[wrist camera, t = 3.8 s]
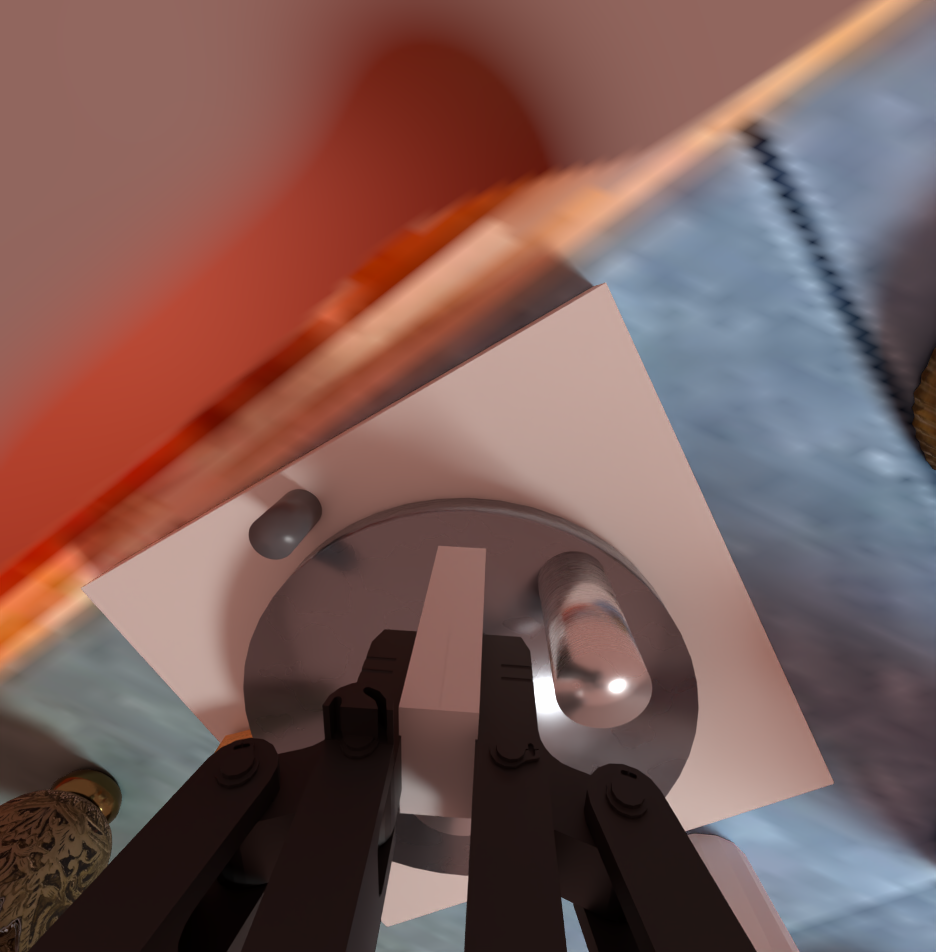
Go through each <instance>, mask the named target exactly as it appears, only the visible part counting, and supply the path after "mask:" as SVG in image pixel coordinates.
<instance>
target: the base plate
mask: <svg viewBox="0 0 936 952" xmlns="http://www.w3.org/2000/svg"><path fill="white" fill-rule="evenodd" d="M448 498H478V499H490V500H501V501H505V502H510V503H515V504H520V505H525V506H529V507H533V508H536V509H539V510H542V511H545V512H548V513H551V514H554V515H557V516H559V517H562V518H564V519H566V520H568V521H570V522H572V523H574V524H576V525H578V526H580V527H582V528H584V529H587V530H589V531H590V532H592V533H593V534H595V535H596V536H598V537H599V538H601V539H602V540H604V541H605V542H607V543H608V544H610V545H611V546H613V547H614V548H615V549H616V550H618V551H619V552H620V553H621V554H622V555H623V556H624V557H625V558H627V559H628V560H629V561H630V562H631V563H632V564H633V565H635V566H636V568H637V569H638V570H639V571H640V572H641V573H642V575H643V576H644V577H645V578H646V579H647V580H648V582H649V583H650V584H651V585H652V586H653V588H654V589H655V591H656V592H657V594H658V596H659V597H660V599H661V601H662V602H663V604H664V605H665V607H666V609H667V610H668V612H669V614H670V615H671V617H672V619H673V621H674V622H675V624H676V626H677V628H678V629H679V631H680V633H681V635H682V637H683V640H684V642H685V644H686V647H687V649H688V652H689V654H690V656H691V659H692V663H693V667H694V672H695V676H696V680H697V688H698V705H699V710H698V719H697V728H696V734H695V738H694V741H693V745H692V748H691V752H690V755H689V757H688V760H687V762H686V764H685V766H684V768H683V770H682V772H681V774H680V777H679V778H678V780H677V781H676V783H675V784H674V786H673V787H672V789H671V790H670V792H669V793H668V795H667V796H666V797H665V798H666V800H667V802H668V803H669V805H670V807H671V808H672V810H673V812H674V813H675V815H676V817H677V818H678V820H679V822H680V823H681V825H682V827H683V828H684V830H685V831H688V830H691V829H694V828H697V827H700V826H703V825H707V824H710V823H713V822H716V821H719V820H722V819H725V818H728V817H731V816H735V815H738V814H741V813H744V812H747V811H750V810H753V809H756V808H760V807H763V806H766V805H769V804H772V803H775V802H778V801H781V800H785V799H788V798H791V797H794V796H797V795H800V794H803V793H806V792H809V791H813V790H816V789H819V788H822V787H825V786H828V785H831V784H834V782H833V779H832V777H831V775H830V773H829V771H828V768H827V766H826V764H825V762H824V760H823V757H822V755H821V753H820V751H819V749H818V746H817V744H816V742H815V740H814V738H813V735H812V733H811V731H810V729H809V727H808V724H807V722H806V720H805V718H804V716H803V714H802V711H801V709H800V707H799V705H798V703H797V700H796V698H795V696H794V694H793V692H792V689H791V687H790V685H789V683H788V681H787V678H786V676H785V674H784V672H783V670H782V667H781V665H780V663H779V661H778V659H777V657H776V654H775V652H774V650H773V648H772V646H771V643H770V641H769V639H768V637H767V635H766V632H765V630H764V628H763V626H762V624H761V621H760V619H759V617H758V615H757V613H756V610H755V608H754V606H753V604H752V602H751V600H750V597H749V595H748V593H747V591H746V589H745V586H744V584H743V582H742V580H741V578H740V575H739V573H738V571H737V569H736V567H735V564H734V562H733V560H732V558H731V556H730V553H729V551H728V549H727V547H726V545H725V543H724V540H723V538H722V536H721V534H720V532H719V529H718V527H717V525H716V523H715V521H714V518H713V516H712V514H711V512H710V510H709V507H708V505H707V503H706V501H705V499H704V496H703V494H702V492H701V490H700V488H699V486H698V483H697V481H696V479H695V477H694V475H693V472H692V470H691V468H690V466H689V464H688V461H687V459H686V457H685V455H684V453H683V450H682V448H681V446H680V444H679V442H678V439H677V437H676V435H675V433H674V431H673V429H672V426H671V424H670V422H669V420H668V418H667V415H666V413H665V411H664V409H663V407H662V404H661V402H660V400H659V398H658V396H657V393H656V391H655V389H654V387H653V385H652V382H651V380H650V378H649V376H648V374H647V372H646V369H645V367H644V365H643V363H642V361H641V358H640V356H639V354H638V352H637V350H636V347H635V345H634V343H633V341H632V339H631V336H630V334H629V332H628V330H627V328H626V325H625V323H624V321H623V319H622V317H621V315H620V312H619V310H618V308H617V306H616V304H615V301H614V299H613V297H612V295H611V293H610V290H609V288H608V286H607V284H606V283H603V284H600V285H596V286H593V287H591V288H590V289H588V290H586V291H585V292H583V293H581V294H579V295H578V296H576V297H574V298H573V299H571V300H569V301H567V302H566V303H564V304H562V305H561V306H559V307H557V308H555V309H554V310H552V311H550V312H549V313H547V314H545V315H543V316H542V317H540V318H538V319H537V320H535V321H533V322H531V323H530V324H528V325H526V326H525V327H523V328H521V329H519V330H518V331H516V332H514V333H513V334H511V335H509V336H507V337H506V338H504V339H502V340H501V341H499V342H497V343H495V344H494V345H492V346H490V347H489V348H487V349H485V350H483V351H482V352H480V353H478V354H477V355H475V356H473V357H471V358H470V359H468V360H466V361H465V362H463V363H461V364H459V365H458V366H456V367H454V368H453V369H451V370H449V371H447V372H446V373H444V374H442V375H441V376H439V377H437V378H435V379H434V380H432V381H430V382H429V383H427V384H425V385H423V386H422V387H420V388H418V389H417V390H415V391H413V392H411V393H410V394H408V395H406V396H405V397H403V398H401V399H399V400H398V401H396V402H394V403H393V404H391V405H389V406H387V407H386V408H384V409H382V410H381V411H379V412H377V413H375V414H374V415H372V416H370V417H369V418H367V419H365V420H363V421H362V422H360V423H358V424H357V425H355V426H353V427H351V428H350V429H348V430H346V431H345V432H343V433H341V434H339V435H338V436H336V437H334V438H333V439H331V440H329V441H327V442H326V443H324V444H322V445H321V446H319V447H317V448H315V449H314V450H312V451H310V452H308V453H307V454H305V455H303V456H302V457H300V458H298V459H296V460H295V461H293V462H291V463H290V464H288V465H286V466H284V467H283V468H281V469H279V470H278V471H276V472H274V473H272V474H271V475H269V476H267V477H266V478H264V479H262V480H260V481H259V482H257V483H255V484H254V485H252V486H250V487H248V488H247V489H245V490H243V491H242V492H240V493H238V494H236V495H235V496H233V497H231V498H230V499H228V500H226V501H224V502H223V503H221V504H219V505H218V506H216V507H214V508H212V509H211V510H209V511H207V512H206V513H204V514H202V515H200V516H199V517H197V518H195V519H194V520H192V521H190V522H188V523H187V524H185V525H183V526H182V527H180V528H178V529H176V530H175V531H173V532H171V533H170V534H168V535H166V536H164V537H163V538H161V539H159V540H158V541H156V542H154V543H152V544H151V545H149V546H147V547H146V548H144V549H142V550H140V551H139V552H137V553H135V554H134V555H132V556H130V557H128V558H127V559H125V560H123V561H122V562H120V563H118V564H116V565H115V566H113V567H112V568H110V569H109V570H107V571H106V572H104V573H103V574H101V575H100V576H98V577H97V578H95V579H94V580H92V581H91V582H89V583H88V584H86V585H85V586H83V587H82V588H81V589H82V590H83V592H84V593H85V594H86V595H87V596H88V597H89V598H90V599H91V600H92V602H93V603H94V604H95V605H96V606H97V607H98V608H99V609H100V610H101V611H102V613H103V614H104V615H105V616H106V617H107V618H108V619H109V620H110V621H111V623H112V624H113V625H114V626H115V627H116V628H117V629H118V630H119V631H120V632H121V634H122V635H123V636H124V637H125V638H126V639H127V640H128V641H129V642H130V644H131V645H132V646H133V647H134V648H135V649H136V650H137V651H138V652H139V653H140V655H141V656H142V657H143V658H144V659H145V660H146V661H147V662H148V663H149V665H150V666H151V667H152V668H153V669H154V670H155V671H156V672H157V673H158V674H159V676H160V677H161V678H162V679H163V680H164V681H165V682H166V683H167V684H168V686H169V687H170V688H171V689H172V690H173V691H174V692H175V693H176V694H177V695H178V697H179V698H180V699H181V700H182V701H183V702H184V703H185V704H186V705H187V707H188V708H189V709H190V710H191V711H192V712H193V713H194V714H195V715H196V716H197V718H198V719H199V720H200V721H201V722H202V723H203V724H204V725H205V726H206V728H207V729H208V730H209V731H210V732H211V733H212V734H213V735H214V736H215V738H216V739H217V740H218V741H219V742H220V743H221V742H222V740H223V739H224V737H225V736H226V735H230V734H234V733H238V732H242V731H246V730H250V727H249V723H248V719H247V716H246V712H245V702H244V692H243V683H244V666H245V661H246V657H247V652H248V648H249V644H250V640H251V638H252V636H253V633H254V631H255V628H256V626H257V624H258V621H259V619H260V617H261V616H262V614H263V612H264V611H265V609H266V608H267V606H268V604H269V603H270V601H271V600H272V598H273V596H274V595H275V594H276V593H277V591H278V590H279V589H280V587H281V586H282V585H283V584H284V582H285V581H286V580H287V579H288V577H289V576H290V575H291V574H292V573H293V571H294V570H295V569H296V568H297V567H298V566H299V564H300V563H301V562H302V561H303V560H304V559H305V558H306V557H307V556H308V555H309V554H310V553H311V552H312V551H314V550H315V549H316V548H317V547H318V546H319V545H321V544H322V543H323V542H324V541H325V540H327V539H328V538H330V537H331V536H333V535H335V534H336V533H338V532H339V531H341V530H342V529H344V528H346V527H347V526H349V525H351V524H353V523H355V522H357V521H359V520H362V519H364V518H366V517H368V516H371V515H373V514H375V513H377V512H381V511H384V510H387V509H391V508H394V507H398V506H401V505H404V504H409V503H415V502H421V501H427V500H433V499H448ZM467 889H468V876H462V875H453V874H443V873H437V872H432V871H426V870H421V869H416V868H412V867H409V866H406V865H402V864H399V863H395V862H392V863H391V869H390V874H389V880H388V885H387V890H386V896H385V901H384V906H383V912H382V917H381V921H382V922H383V923H384V924H385V925H386V927H388V926H391V925H395V924H398V923H401V922H404V921H407V920H410V919H413V918H416V917H420V916H423V915H426V914H429V913H432V912H435V911H438V910H441V909H445V908H448V907H451V906H454V905H457V904H460V903H463V902H466V901H467Z"/></svg>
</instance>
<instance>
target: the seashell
mask: <svg viewBox="0 0 936 952" xmlns="http://www.w3.org/2000/svg"><path fill="white" fill-rule="evenodd" d="M914 400H915V402H914V404H913V406H912V409H913V412H914V416H915V417H914V419H913V423H912V425H913V426H914V428H915V429H916V438H917V439H918V441H919V442H920V447H921V450H922V451H923V452H924V453H925V457H926V461H927V462H928V463H929V464H930V465H931V467H932V469H934V470H936V347H935V349H934V351H933V352H932V354H931V357H930V360H929V363H928V366H927V367H926V368H925V370H924V371H923V372H922V375H921V384H920V385H919V386H918V388H917V389H916V390H915V392H914Z"/></svg>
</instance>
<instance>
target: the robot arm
mask: <svg viewBox="0 0 936 952" xmlns="http://www.w3.org/2000/svg"><path fill="white" fill-rule="evenodd" d="M485 562H486V549H485V548H468V547H451V546H438V549H437V553H436V558H435V562H434V566H433V570H432V574H431V578H430V582H429V586H428V590H427V594H426V598H425V602H424V606H423V610H422V614H421V618H420V623H419V627H418V631H405V630H390V629H384V630H383V631H382V632H381V633H380V634H379V635H378V636H377V637H376V638H375V639H374V640H373V641H372V643H371V645H370V648H369V651H368V653H367V656H366V659H365V661H364V664H363V667H362V671H361V672H360V675H359V677H358V680H357V683H351V684H348V685H346V686H343V687H340V688H339V689H337V690H336V691H334V692H333V693H332V694H330V695H329V696H328V698H327V699H326V701H325V702H324V703H323V705H322V709H323V722H324V735H325V739H324V740H323V741H321V742H319V743H317V744H315V745H313V746H310V747H306V748H303V749H299V750H294V751H289V752H285V753H280V754H278V753H277V751H276V749H275V747H274V745H273V744H271V743H269V742H268V741H266V740H264V739H259V738H246V739H241V740H236V741H234V742H232V743H230V744H228V745H225V746H223V747H221V748H220V749H219V750H218V751H216V752H215V753H214V754H213V755H211V756H210V757H209V758H208V759H207V760H206V761H205V762H204V763H203V764H202V765H201V766H200V767H199V769H198V770H197V771H196V772H195V773H194V774H193V775H192V776H191V777H190V778H189V779H188V780H187V781H186V782H185V783H184V785H183V786H182V787H181V788H180V789H179V790H178V791H177V792H176V793H175V794H174V795H173V796H172V797H171V798H170V800H169V801H168V802H167V803H166V804H165V805H164V806H163V807H162V808H161V809H160V810H159V811H158V812H157V813H156V815H155V816H154V817H153V818H152V819H151V820H150V821H149V822H148V823H147V824H146V825H145V826H144V827H143V828H142V829H141V831H140V832H139V833H138V834H137V835H136V836H135V837H134V838H133V839H132V840H131V841H130V842H129V843H128V844H127V846H126V847H125V848H124V849H123V850H122V851H121V852H120V853H119V854H118V855H117V856H116V857H115V858H114V859H113V860H112V862H111V863H110V864H109V865H108V866H107V867H106V868H105V869H104V870H103V871H102V872H101V873H100V874H99V875H98V877H97V878H96V879H95V880H94V881H93V882H92V883H91V884H90V885H89V886H88V887H87V888H86V889H85V890H84V891H83V893H82V894H81V895H80V896H79V897H78V898H77V899H76V900H75V901H74V902H73V903H72V904H71V905H70V906H69V908H68V909H67V910H66V911H65V912H64V913H63V914H62V915H61V916H60V917H59V918H58V919H57V920H56V921H55V922H54V924H53V925H52V926H51V927H50V928H49V929H48V930H47V931H46V932H45V933H44V934H43V935H42V936H41V937H40V939H39V940H38V941H37V942H36V943H35V944H34V945H33V946H32V947H31V948H30V949H29V950H28V951H27V952H375V949H376V944H377V938H378V933H379V928H380V922H381V917H382V912H383V906H384V901H385V896H386V890H387V885H388V880H389V874H390V869H391V863H392V858H393V853H394V847H395V822H396V817H397V812H398V807H399V802H400V813H405V814H418V815H430V816H442V817H455V818H467V819H471V832H470V851H469V869H468V889H467V909H466V928H465V947H464V952H567V947H566V938H565V929H564V920H563V911H562V901H561V897H562V898H564V899H566V900H568V901H570V902H572V903H573V905H574V908H575V911H576V914H577V917H578V920H579V923H580V926H581V929H582V932H583V935H584V938H585V941H586V944H587V947H588V950H589V952H757V951H756V949H755V948H754V946H753V944H752V943H751V941H750V939H749V938H748V936H747V934H746V933H745V931H744V929H743V928H742V926H741V924H740V923H739V921H738V919H737V918H736V916H735V914H734V913H733V911H732V909H731V907H730V906H729V904H728V902H727V901H726V899H725V897H724V896H723V894H722V892H721V891H720V889H719V887H718V886H717V884H716V882H715V881H714V879H713V877H712V876H711V874H710V872H709V870H708V869H707V867H706V865H705V864H704V862H703V860H702V859H701V857H700V855H699V854H698V852H697V850H696V849H695V847H694V845H693V844H692V842H691V840H690V839H689V837H688V835H687V833H686V832H685V830H684V828H683V827H682V825H681V823H680V822H679V820H678V818H677V817H676V815H675V813H674V812H673V810H672V808H671V807H670V805H669V803H668V802H667V800H666V798H665V797H664V795H663V793H662V791H661V790H660V789H659V788H658V787H657V785H656V784H655V783H654V782H653V780H652V779H651V778H649V777H648V776H646V775H645V774H644V773H642V772H641V771H639V770H638V769H636V768H633V767H630V766H627V765H625V764H611V763H609V764H606V765H603V766H601V767H598V768H597V769H596V770H595V771H594V772H593V773H592V774H591V775H590V774H587V773H585V772H582V771H579V770H577V769H574V768H571V767H569V766H567V765H565V764H563V763H561V762H560V761H559V760H557V759H556V758H555V757H553V756H552V755H551V754H550V753H549V751H548V750H547V749H546V748H545V746H544V745H543V743H542V741H541V739H540V735H539V731H538V721H537V712H536V702H535V692H534V682H533V672H532V662H531V652H530V650H529V648H528V647H527V645H526V644H525V642H524V641H523V639H522V638H521V637H517V636H501V635H486V634H483V610H484V586H485Z"/></svg>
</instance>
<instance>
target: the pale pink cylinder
mask: <svg viewBox="0 0 936 952" xmlns="http://www.w3.org/2000/svg"><path fill="white" fill-rule="evenodd" d="M688 837H689V839H690V840H691V842H692V844H693V845H694V847H695V849H696V850H697V852H698V854H699V855H700V857H701V859H702V860H703V862H704V864H705V865H706V867H707V869H708V870H709V872H710V874H711V876H712V877H713V879H714V881H715V882H716V884H717V886H718V887H719V889H720V891H721V892H722V894H723V896H724V897H725V899H726V901H727V902H728V904H729V906H730V907H731V909H732V911H733V913H734V914H735V916H736V918H737V919H738V921H739V923H740V924H741V926H742V928H743V929H744V931H745V933H746V934H747V936H748V938H749V939H750V941H751V943H752V944H753V946H754V948H755V949H756V951H757V952H799V950H798V948H797V946H796V945H795V943H794V941H793V939H792V937H791V936H790V934H789V932H788V930H787V928H786V927H785V925H784V923H783V921H782V920H781V918H780V916H779V914H778V912H777V911H776V909H775V907H774V905H773V903H772V902H771V900H770V898H769V896H768V894H767V893H766V891H765V889H764V887H763V886H762V884H761V882H760V880H759V878H758V877H757V875H756V873H755V871H754V869H753V868H752V866H751V864H750V862H749V860H748V859H747V857H746V855H745V854H744V853H743V852H742V851H741V850H740V849H739V848H738V847H737V846H736V845H735V844H734V843H733V842H731V841H728V840H726V839H723V838H721V837H719V836H716V835H706V834H690V835H688Z"/></svg>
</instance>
